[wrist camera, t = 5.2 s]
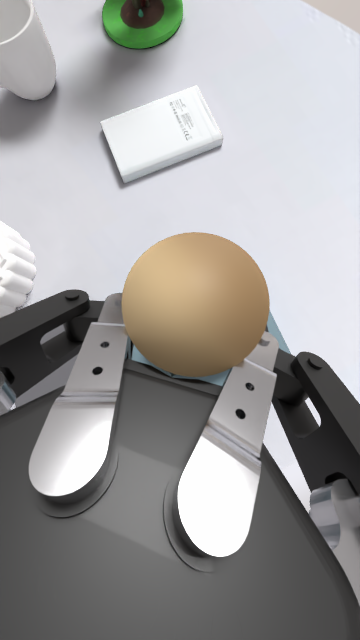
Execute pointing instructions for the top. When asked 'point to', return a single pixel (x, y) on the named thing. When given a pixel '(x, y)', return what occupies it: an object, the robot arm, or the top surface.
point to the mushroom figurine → (141, 21)
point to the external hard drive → (161, 133)
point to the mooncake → (14, 270)
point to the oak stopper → (195, 304)
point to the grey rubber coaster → (52, 380)
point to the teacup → (24, 51)
